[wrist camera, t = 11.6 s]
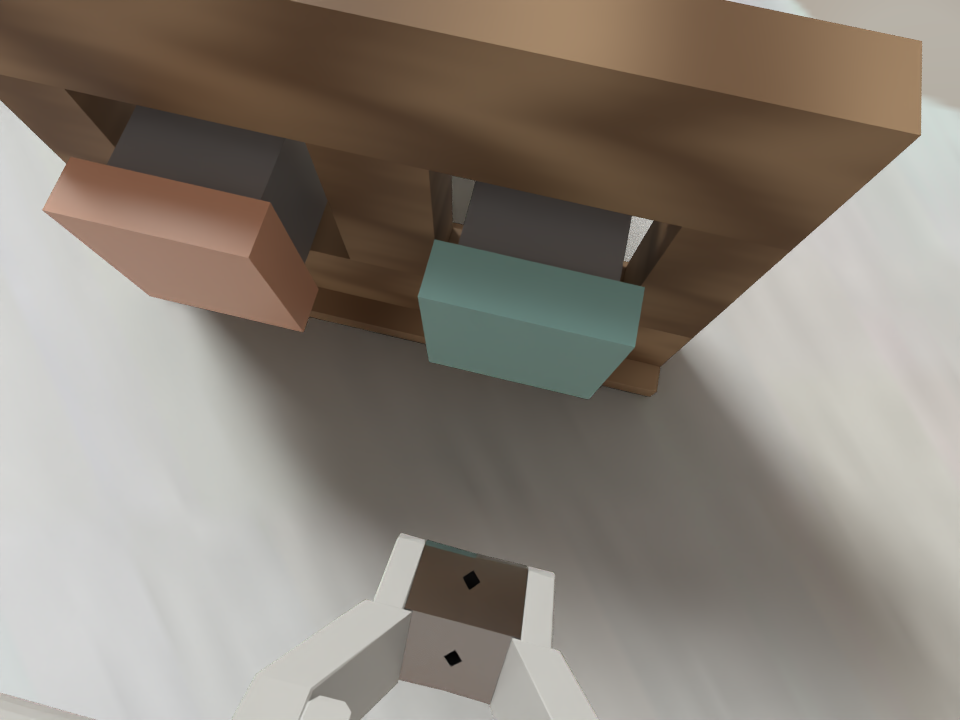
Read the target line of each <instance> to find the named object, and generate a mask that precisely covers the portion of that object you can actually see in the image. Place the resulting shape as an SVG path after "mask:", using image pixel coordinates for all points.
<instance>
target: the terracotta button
mask: <svg viewBox="0 0 960 720" xmlns="http://www.w3.org/2000/svg"><path fill="white" fill-rule="evenodd" d="M326 204H327V198H326V196H325V193H324V190H323V188H322V185H321V183H320V180H319V177H318V175H317V172H316V170H315V167H314V165H313V162H312V159H311V157H310V154H309V152H308V149H307V146H306V144H305V142H300V141H296V140H291V139H287V138H282V137H278V136H273V135H269V134H264V133H260V132H255V131H251V130H247V129H242V128H238V127H233V126H229V125H224V124H220V123H215V122H211V121H206V120H202V119H197V118H193V117H188V116H184V115H179V114H175V113H170V112H166V111H161V110H157V109H153V108H148V107H144V106H139V105H136V107H135V109H134V111H133V113H132V115H131V117H130V119H129V121H128V123H127V125H126V127H125V129H124V131H123V133H122V135H121V137H120V139H119V141H118V143H117V145H116V147H115V149H114V151H113V153H112V155H111V157H110V159H109V161H108V163H107V165H105V164H100V163H96V162H91V161H87V160H83V159H78V158H74V157H70V158H69V160H68V162H67V164H66V166H65V168H64V170H63V171H62V173H61V175H60V177H59V179H58V181H57V183H56V185H55V187H54V189H53V190H52V192H51V194H50V196H49V198H48V200H47V202H46V204H45V206H44V208H43V209H42V210H43V211H44V212H45V213H47V214H48V215H49V216H50V217H52V218H53V219H54V220H55V221H57V222H58V223H59V224H60V225H62V226H63V227H64V228H65V229H67V230H68V231H69V232H70V233H72V234H73V235H74V236H75V237H77V238H78V239H79V240H80V241H82V242H83V243H84V244H85V245H87V246H88V247H89V248H90V249H92V250H93V251H94V252H95V253H97V254H98V255H99V256H100V257H102V258H103V259H104V260H105V261H107V262H108V263H109V264H110V265H112V266H113V267H114V268H115V269H117V270H118V271H119V272H120V273H122V274H123V275H124V276H125V277H127V278H128V279H129V280H130V281H132V282H133V283H134V284H135V285H137V286H138V287H139V288H140V289H142V290H143V291H144V292H145V293H147V294H148V295H149V296H152V297H156V298H160V299H164V300H169V301H173V302H177V303H181V304H186V305H190V306H194V307H198V308H202V309H207V310H211V311H215V312H219V313H224V314H228V315H232V316H236V317H240V318H245V319H249V320H253V321H257V322H262V323H266V324H270V325H274V326H279V327H283V328H287V329H291V330H295V331H300V332H304V330H305V327H306V324H307V321H308V318H309V315H310V313H311V310H312V307H313V304H314V301H315V298H316V295H317V293H318V290H319V289H318V287H317V285H316V283H315V282H314V280H313V278H312V276H311V275H310V273H309V271H308V269H307V267H306V266H305V262H306V259H307V257H308V254H309V251H310V248H311V245H312V243H313V240H314V237H315V234H316V232H317V229H318V226H319V223H320V221H321V218H322V215H323V212H324V210H325V207H326Z"/></svg>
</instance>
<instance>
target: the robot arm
mask: <svg viewBox="0 0 960 720" xmlns="http://www.w3.org/2000/svg"><path fill="white" fill-rule="evenodd" d="M555 578H556V577H555V574H554V572H550V571H546V570H542V569H538V568H534V567H530V566H528V567H527V566H526V565H522V564H518V563H514V562H510V561H506V560H502V559H498V558H494V557H489V556H485V555H481V554H475V553H472V552H468V551H465V550H461V549H458V548H454V547H451V546H447V545H444V544H440V543H437V542H433V541H430V540H427V541H426V540H424V539H421V538H417V537H414V536H411V535H407V534H404V533H401V534H400V535H399V537H398V538H397V540H396V543H395V546H394V548H393V551H392V553H391V556H390V559H389V561H388V564H387V566H386V569H385V571H384V574H383V577H382V579H381V582H380V584H379V587H378V589H377V592H376V595H375V597H374V600H373V601H371V600H367V599H365V600H363V601H362V602H360V603H359V604H358V605H356V606H355V607H353V608H352V609H350V610H349V611H347V612H346V613H344V614H343V615H342V616H340V617H339V618H337V619H336V620H334V621H333V622H331V623H330V624H328V625H327V626H326V627H324V628H323V629H321V630H320V631H318V632H317V633H315V634H314V635H312V636H311V637H309V638H308V639H307V640H305V641H304V642H302V643H301V644H299V645H298V646H296V647H295V648H293V649H292V650H291V651H289V652H288V653H286V654H285V655H283V656H282V657H280V658H279V659H277V660H276V661H274V662H273V663H272V664H270V665H269V666H267V667H266V668H264V669H263V670H261V671H260V672H258V673H257V674H256V675H255V676H254V678H253V680H252V682H251V684H250V686H249V688H248V689H247V691H246V693H245V695H244V697H243V699H242V701H241V702H240V704H239V706H238V708H237V710H236V712H235V714H234V715H233V717H232V719H231V720H360V719H361V718H362V717H364V716H365V715H366V714H367V713H368V712H369V711H370V710H371V709H372V708H373V707H374V706H375V705H376V704H377V703H378V702H379V701H380V700H381V699H382V698H383V697H384V696H385V695H386V694H387V693H388V692H389V691H390V690H391V689H392V688H393V687H394V686H395V685H396V684H397V683H398V680H402V681H406V682H410V683H415V684H419V685H423V686H427V687H431V688H435V689H440V690H444V691H447V692H450V693H454V694H457V695H460V696H464V697H467V698H470V699H474V700H477V701H480V702H484V703H487V704H490V709H491V712H492V715H493V718H494V720H599V719H598V717H597V715H596V713H595V712H594V710H593V708H592V706H591V705H590V703H589V701H588V699H587V697H586V696H585V694H584V692H583V690H582V689H581V687H580V685H579V683H578V682H577V680H576V678H575V676H574V674H573V673H572V671H571V669H570V667H569V666H568V664H567V662H566V660H565V659H564V657H563V655H562V653H561V652H560V651H559V650H555V649H552V642H553V621H554V599H555ZM0 720H95V719H92V718H88V717H85V716H81V715H78V714H74V713H71V712H67V711H63V710H60V709H56V708H53V707H49V706H46V705H42V704H39V703H35V702H32V701H28V700H25V699H21V698H17V697H14V696H10V695H7V694H3V693H0Z"/></svg>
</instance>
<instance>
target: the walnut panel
mask: <svg viewBox="0 0 960 720" xmlns="http://www.w3.org/2000/svg"><path fill="white" fill-rule="evenodd" d="M921 76H922V41H919V40H914V39H909V38H904V37H899V36H895V35H890V34H885V33H880V32H875V31H871V30H866V29H860V28H856V27H851V26H846V25H842V24H836V23H831V22H827V21H822V20H818V19H813V18H808V17H803V16H798V15H793V14H789V13H784V12H779V11H774V10H769V9H765V8H760V7H755V6H750V5H745V4H740V3H736V2H731V1H726V0H0V100H1V101H2V102H3V103H4V104H5V105H6V106H7V107H8V108H9V109H10V110H11V111H12V112H13V113H14V114H15V115H16V116H17V117H18V118H19V119H20V120H22V121H23V122H24V123H25V124H26V125H27V126H28V127H29V128H30V129H31V130H32V131H33V132H34V133H35V134H36V135H37V136H38V137H39V138H40V139H41V140H42V141H43V142H44V143H45V144H46V145H47V146H48V147H49V148H51V149H52V150H53V151H54V152H55V153H56V154H57V155H58V156H59V157H60V158H61V159H62V160H63V161H64V162H65V163H66V164H67V162H68V160H69V158H70V157H74V158H78V159H83V160H87V161H91V162H96V163H100V164H105V165H107V163H108V161H109V159H110V157H111V155H112V153H113V151H114V149H115V147H116V145H117V143H118V141H119V139H120V137H121V135H122V133H123V131H124V129H125V127H126V125H127V123H128V121H129V119H130V117H131V115H132V113H133V111H134V109H135V107H136V105H139V106H144V107H148V108H153V109H157V110H161V111H166V112H170V113H175V114H179V115H184V116H188V117H193V118H197V119H202V120H206V121H211V122H215V123H220V124H224V125H229V126H233V127H238V128H242V129H247V130H251V131H255V132H260V133H264V134H269V135H273V136H278V137H282V138H287V139H291V140H296V141H300V142H305V144H306V146H307V149H308V152H309V154H310V157H311V159H312V162H313V165H314V167H315V170H316V172H317V175H318V177H319V180H320V183H321V185H322V188H323V190H324V193H325V196H326V198H327V204H326V207H325V210H324V212H323V215H322V218H321V221H320V223H319V226H318V229H317V232H316V234H315V237H314V240H313V243H312V245H311V248H310V251H309V254H308V257H307V259H306V262H305V266H306V267H307V269H308V271H309V273H310V275H311V276H312V278H313V280H314V282H315V283H316V285H317V287H318V289H319V290H318V293H317V295H316V298H315V301H314V304H313V307H312V310H311V313H310V315H309V317H313V318H317V319H321V320H326V321H330V322H334V323H338V324H343V325H347V326H351V327H355V328H360V329H364V330H368V331H372V332H377V333H381V334H385V335H389V336H394V337H398V338H402V339H406V340H411V341H415V342H419V343H423V344H426V341H425V336H424V330H423V324H422V318H421V312H420V307H419V301H418V294H419V291H420V287H421V284H422V281H423V277H424V274H425V270H426V267H427V263H428V260H429V257H430V253H431V250H432V246H433V243H434V240H435V239H436V240H440V241H444V242H449V243H453V244H457V245H458V243H459V240H460V236H461V232H462V229H463V225H462V224H458V223H454V222H453V218H452V177H451V175H452V176H457V177H461V178H466V179H470V180H475V181H479V182H484V183H488V184H493V185H497V186H502V187H506V188H511V189H515V190H520V191H524V192H529V193H533V194H537V195H542V196H546V197H551V198H555V199H560V200H564V201H569V202H573V203H578V204H582V205H587V206H591V207H596V208H600V209H605V210H609V211H614V212H618V213H623V214H627V215H631V216H636V217H640V218H645V219H649V220H654V221H653V223H652V224H651V226H650V228H649V229H648V231H647V233H646V235H645V236H644V238H643V240H642V241H641V243H640V245H639V246H638V248H637V250H636V251H635V253H634V255H633V256H632V258H631V260H630V261H629V262H626V261H624V262H623V267H622V273H621V278H620V282H624V283H628V284H633V285H637V286H642V287H645V290H644V296H643V302H642V308H641V314H640V320H639V326H638V332H637V338H636V344H635V348H634V349H633V350H632V351H631V352H630V353H629V355H628V356H627V357H626V358H625V359H624V360H623V361H622V362H621V364H620V365H619V366H618V367H617V368H616V369H615V370H614V371H613V373H612V374H611V375H610V376H609V377H608V378H607V379H606V380H605V382H604V383H603V384H602V386H606V387H610V388H615V389H619V390H623V391H627V392H632V393H636V394H640V395H644V396H649V397H650V396H652V395H653V394H654V393H656V392H657V386H658V379H659V373H660V367H661V366H662V365H663V364H664V363H665V362H666V361H667V360H668V359H670V358H671V357H672V356H673V355H674V354H675V353H676V352H677V351H679V350H680V349H681V348H682V347H683V346H684V345H685V344H686V343H688V342H689V341H690V340H691V339H692V338H693V337H694V336H695V335H697V334H698V333H699V332H700V331H701V330H702V329H703V328H704V327H706V326H707V325H708V324H709V323H710V322H711V321H712V320H713V319H715V318H716V317H717V316H718V315H719V314H720V313H721V312H722V311H724V310H725V309H726V308H727V307H728V306H729V305H730V304H731V303H733V302H734V301H735V300H736V299H737V298H738V297H739V296H740V295H742V294H743V293H744V292H745V291H746V290H747V289H748V288H749V287H751V286H752V285H753V284H754V283H755V282H756V281H757V280H758V279H760V278H761V277H762V276H763V275H764V274H765V273H766V272H767V271H769V270H770V269H771V268H772V267H773V266H774V265H775V264H777V263H778V262H779V261H780V260H781V259H782V258H783V257H784V256H786V255H787V254H788V253H789V252H790V251H791V250H792V249H793V248H795V247H796V246H797V245H798V244H799V243H800V242H801V241H802V240H804V239H805V238H806V237H807V236H808V235H809V234H810V233H811V232H813V231H814V230H815V229H816V228H817V227H818V226H819V225H820V224H822V223H823V222H824V221H825V220H826V219H827V218H828V217H829V216H831V215H832V214H833V213H834V212H835V211H836V210H837V209H838V208H840V207H841V206H842V205H843V204H844V203H845V202H846V201H847V200H849V199H850V198H851V197H852V196H853V195H854V194H855V193H856V192H858V191H859V190H860V189H861V188H862V187H863V186H864V185H865V184H867V183H868V182H869V181H870V180H871V179H872V178H873V177H874V176H876V175H877V174H878V173H879V172H880V171H881V170H882V169H883V168H885V167H886V166H887V165H888V164H889V163H890V162H891V161H892V160H894V159H895V158H896V157H897V156H898V155H899V154H900V153H901V152H903V151H904V150H905V149H906V148H907V147H908V146H909V145H910V144H912V143H913V142H914V141H915V140H916V139H917V138H918V137H919V136H921V81H922V80H921V79H922V77H921Z"/></svg>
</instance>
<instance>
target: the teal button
mask: <svg viewBox="0 0 960 720" xmlns="http://www.w3.org/2000/svg"><path fill="white" fill-rule="evenodd" d="M631 217H632V216H631V215H627V214H623V213H618V212H614V211H609V210H605V209H600V208H596V207H591V206H587V205H582V204H578V203H573V202H569V201H564V200H560V199H555V198H551V197H546V196H542V195H537V194H533V193H529V192H524V191H520V190H515V189H511V188H506V187H502V186H497V185H493V184H488V183H484V182H479V181H476V182H475V186H474V189H473V193H472V196H471V200H470V204H469V207H468V211H467V214H466V218H465V222H464V225H463V229H462V232H461V236H460V240H459V243H458V245H457V244H453V243H449V242H444V241H440V240H436V239H435V240H434V243H433V246H432V250H431V253H430V257H429V260H428V263H427V267H426V270H425V274H424V277H423V281H422V284H421V287H420V291H419V294H418V301H419V307H420V312H421V318H422V324H423V330H424V336H425V341H426V347H427V353H428V359H429V362H432V363H437V364H441V365H445V366H449V367H454V368H458V369H462V370H466V371H470V372H475V373H479V374H483V375H487V376H492V377H496V378H500V379H504V380H509V381H513V382H517V383H521V384H525V385H530V386H534V387H538V388H542V389H547V390H551V391H555V392H559V393H564V394H568V395H572V396H576V397H580V398H585V399H590V397H591V396H592V395H593V394H594V393H595V392H596V391H597V390H598V388H599V387H600V386H601V385H602V384H603V383H604V382H605V380H606V379H607V378H608V377H609V376H610V375H611V374H612V373H613V371H614V370H615V369H616V368H617V367H618V366H619V365H620V364H621V362H622V361H623V360H624V359H625V358H626V357H627V356H628V355H629V353H630V352H631V351H632V350H633V349H634V348H635V344H636V338H637V332H638V326H639V320H640V314H641V308H642V302H643V296H644V290H645V287H642V286H637V285H633V284H628V283H624V282H620V278H621V273H622V267H623V262H624V256H625V251H626V245H627V239H628V234H629V228H630V223H631Z"/></svg>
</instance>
